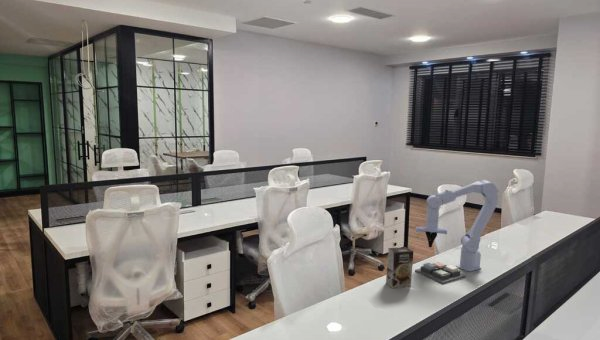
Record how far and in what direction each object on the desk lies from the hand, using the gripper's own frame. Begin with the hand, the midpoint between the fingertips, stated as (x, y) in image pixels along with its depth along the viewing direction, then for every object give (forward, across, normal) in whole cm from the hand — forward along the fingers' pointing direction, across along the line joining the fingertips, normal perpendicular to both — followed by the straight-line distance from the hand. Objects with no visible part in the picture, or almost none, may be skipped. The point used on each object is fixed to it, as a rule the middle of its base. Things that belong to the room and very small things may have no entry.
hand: (430, 246), depth 202 cm
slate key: (+7, -1, -11) cm, 13 cm away
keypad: (+9, +4, -11) cm, 15 cm away
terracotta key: (+8, +4, -6) cm, 11 cm away
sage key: (+8, +4, -16) cm, 19 cm away
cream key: (+7, +9, -11) cm, 16 cm away
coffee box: (+10, -15, -29) cm, 34 cm away
